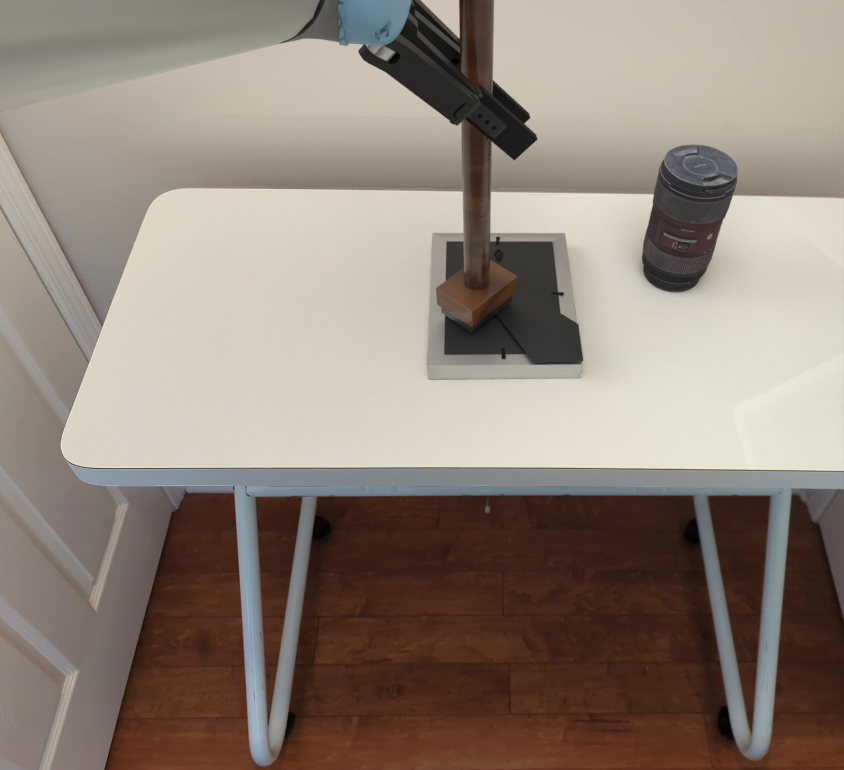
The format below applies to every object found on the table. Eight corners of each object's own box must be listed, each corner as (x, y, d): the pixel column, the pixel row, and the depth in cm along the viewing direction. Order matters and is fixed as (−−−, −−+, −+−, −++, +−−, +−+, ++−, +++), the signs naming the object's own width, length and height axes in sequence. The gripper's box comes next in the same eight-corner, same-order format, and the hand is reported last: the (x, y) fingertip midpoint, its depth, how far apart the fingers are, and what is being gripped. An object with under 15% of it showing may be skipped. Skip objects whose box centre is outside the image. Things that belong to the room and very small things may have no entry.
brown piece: (472, 336, 77) (468, -108, 46) (437, 312, 79) (410, -129, 48) (516, 300, 81) (539, -134, 50) (481, 279, 83) (483, -152, 52)
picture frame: (580, 378, 78) (563, 246, 91) (583, 360, 76) (565, 227, 89) (428, 379, 77) (433, 246, 90) (426, 361, 75) (432, 227, 88)
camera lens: (720, 282, 88) (757, 173, 76) (665, 305, 85) (694, 196, 74) (677, 242, 92) (706, 133, 81) (624, 263, 89) (645, 153, 78)
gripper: (259, -72, 56) (478, 116, 71) (248, 27, 47) (505, 220, 62) (319, -157, 53) (536, 60, 68) (321, -70, 43) (574, 160, 58)
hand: (521, 136), depth 65 cm, fingers closed on brown piece, 3 cm apart
